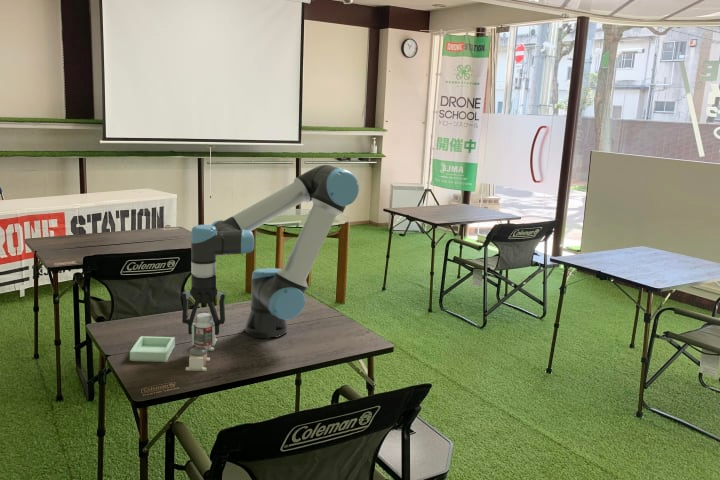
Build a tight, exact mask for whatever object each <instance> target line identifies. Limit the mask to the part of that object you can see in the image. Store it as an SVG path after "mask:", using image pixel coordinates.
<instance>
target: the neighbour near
mask: <svg viewBox="0 0 720 480" xmlns="http://www.w3.org/2000/svg"><path fill="white" fill-rule="evenodd" d="M189 357H203V367H207V362H208V361H207V358H208V351H207V349H206V348H204V347H197V346H194V347H191V348H190V349H189Z"/></svg>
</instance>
